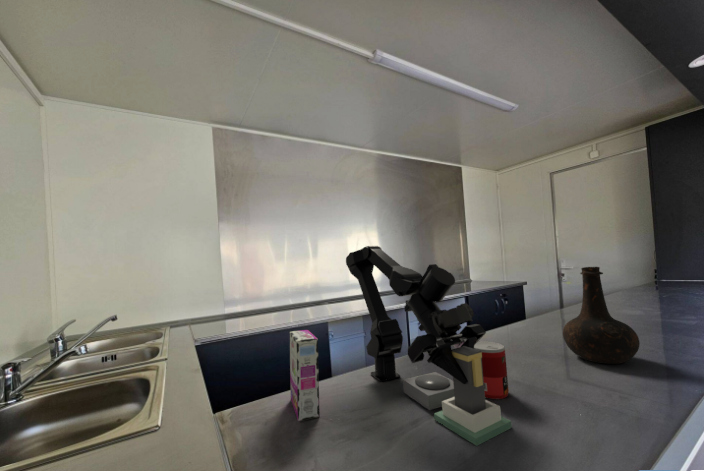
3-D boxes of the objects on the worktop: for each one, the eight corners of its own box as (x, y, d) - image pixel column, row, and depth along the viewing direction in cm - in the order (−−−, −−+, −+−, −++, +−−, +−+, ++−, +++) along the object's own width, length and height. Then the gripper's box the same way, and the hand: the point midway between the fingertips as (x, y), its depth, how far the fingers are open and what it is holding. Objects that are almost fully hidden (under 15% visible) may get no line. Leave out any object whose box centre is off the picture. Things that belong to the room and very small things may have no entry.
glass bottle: (580, 368, 81) (568, 268, 84) (556, 349, 98) (546, 267, 101) (660, 372, 76) (644, 266, 79) (619, 351, 93) (608, 265, 96)
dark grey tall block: (455, 411, 57) (450, 349, 59) (469, 406, 59) (464, 346, 61) (475, 422, 53) (469, 355, 54) (489, 416, 55) (484, 351, 56)
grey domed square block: (403, 392, 71) (402, 377, 72) (436, 383, 75) (435, 370, 76) (429, 410, 62) (428, 393, 62) (464, 399, 66) (463, 384, 66)
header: (434, 419, 58) (433, 400, 59) (467, 406, 63) (466, 388, 64) (476, 445, 50) (474, 423, 50) (511, 427, 54) (509, 407, 55)
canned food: (513, 400, 65) (509, 350, 66) (476, 399, 66) (471, 349, 67) (503, 386, 72) (499, 341, 73) (469, 385, 74) (466, 340, 75)
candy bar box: (321, 417, 61) (318, 338, 63) (297, 423, 60) (295, 341, 61) (310, 395, 72) (308, 328, 73) (290, 400, 70) (288, 330, 72)
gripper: (413, 295, 58) (462, 369, 47) (475, 288, 67) (528, 348, 56) (391, 329, 64) (430, 400, 53) (451, 318, 73) (494, 377, 62)
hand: (473, 380), depth 56 cm, fingers closed on dark grey tall block, 4 cm apart
